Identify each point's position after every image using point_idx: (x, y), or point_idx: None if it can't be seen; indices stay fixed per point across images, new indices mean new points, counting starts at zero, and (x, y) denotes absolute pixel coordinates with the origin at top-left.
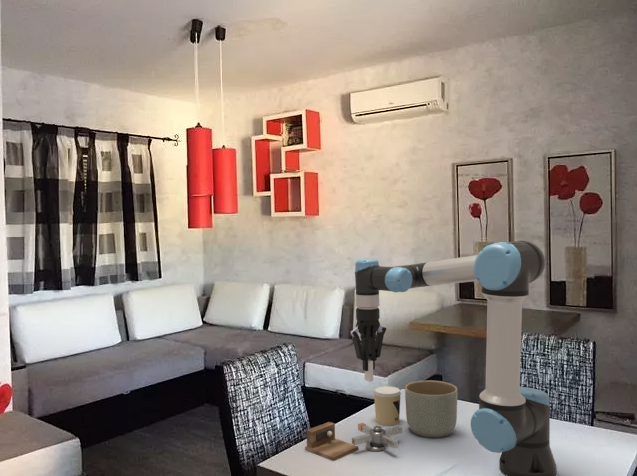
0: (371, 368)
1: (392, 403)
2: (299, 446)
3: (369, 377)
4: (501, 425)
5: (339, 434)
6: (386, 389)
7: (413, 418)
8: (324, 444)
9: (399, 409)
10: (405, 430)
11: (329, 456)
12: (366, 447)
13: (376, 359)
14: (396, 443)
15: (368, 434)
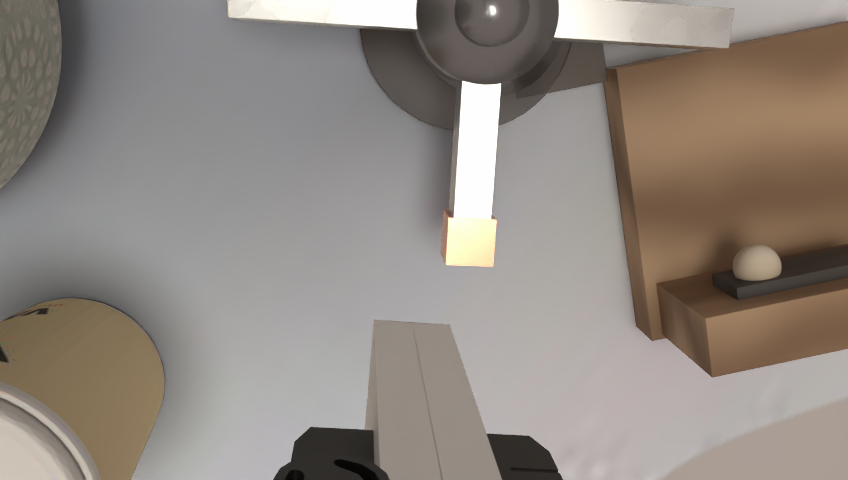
0: (418, 415)
1: (14, 357)
2: (820, 389)
3: (456, 347)
4: None
5: (494, 413)
6: None
7: (30, 11)
8: (772, 246)
9: None
10: (39, 202)
11: None
12: (559, 43)
13: (293, 468)
14: None
15: (577, 22)
